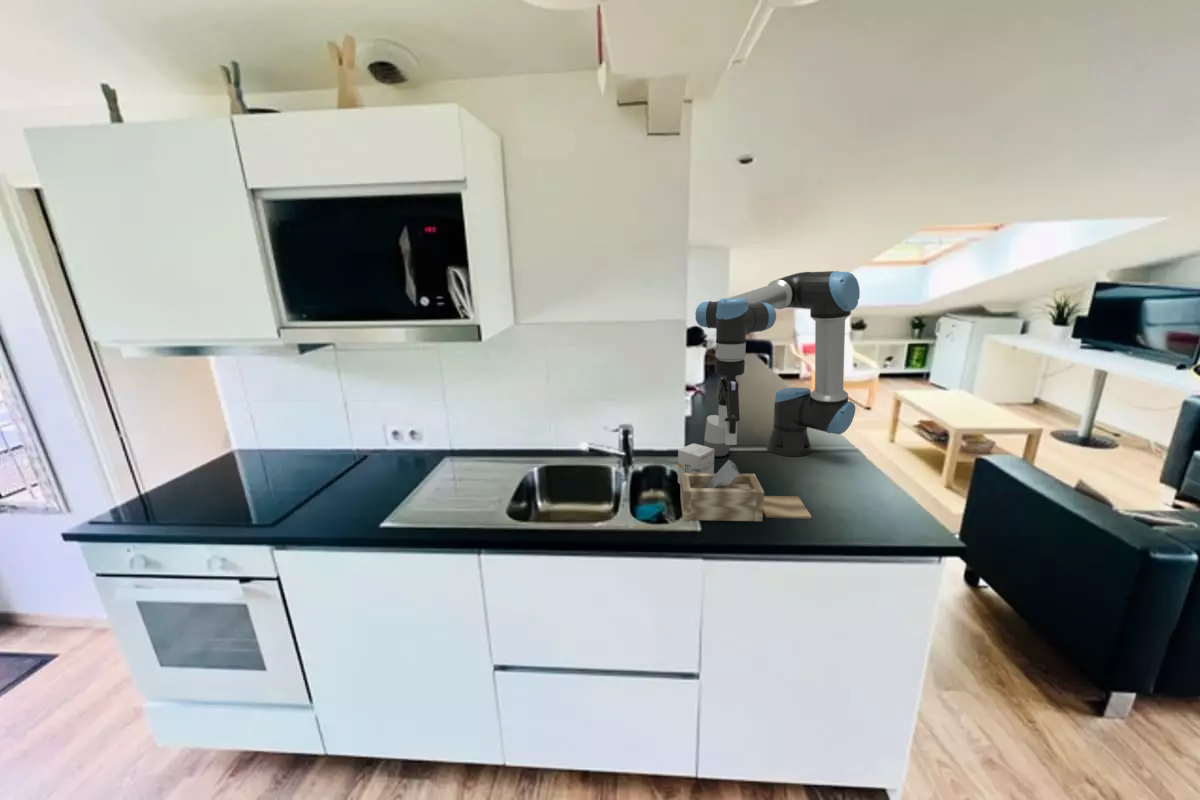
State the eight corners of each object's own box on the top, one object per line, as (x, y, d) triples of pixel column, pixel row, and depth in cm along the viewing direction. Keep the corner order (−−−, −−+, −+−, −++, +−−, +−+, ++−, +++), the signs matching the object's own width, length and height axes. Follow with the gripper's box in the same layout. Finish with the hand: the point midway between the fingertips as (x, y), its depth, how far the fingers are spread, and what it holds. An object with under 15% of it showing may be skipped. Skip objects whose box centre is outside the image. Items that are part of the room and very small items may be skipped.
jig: (753, 500, 143) (754, 473, 140) (762, 521, 131) (764, 492, 129) (680, 499, 145) (680, 473, 143) (683, 519, 133) (683, 491, 131)
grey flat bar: (735, 464, 137) (728, 459, 137) (739, 473, 131) (732, 467, 131) (699, 504, 141) (692, 499, 141) (701, 514, 136) (694, 509, 135)
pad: (756, 497, 144) (756, 495, 144) (798, 498, 143) (798, 496, 143) (765, 517, 133) (766, 515, 133) (811, 518, 132) (811, 516, 132)
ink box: (692, 474, 162) (693, 442, 158) (714, 482, 156) (715, 448, 153) (676, 483, 156) (677, 449, 153) (698, 491, 150) (699, 455, 147)
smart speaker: (718, 460, 172) (719, 423, 169) (698, 453, 179) (699, 417, 176) (734, 454, 178) (736, 417, 174) (714, 447, 185) (715, 412, 181)
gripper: (709, 350, 139) (707, 421, 144) (722, 368, 115) (719, 452, 120) (736, 350, 138) (733, 421, 144) (754, 368, 114) (750, 452, 120)
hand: (726, 435), depth 132 cm, fingers open, 13 cm apart
